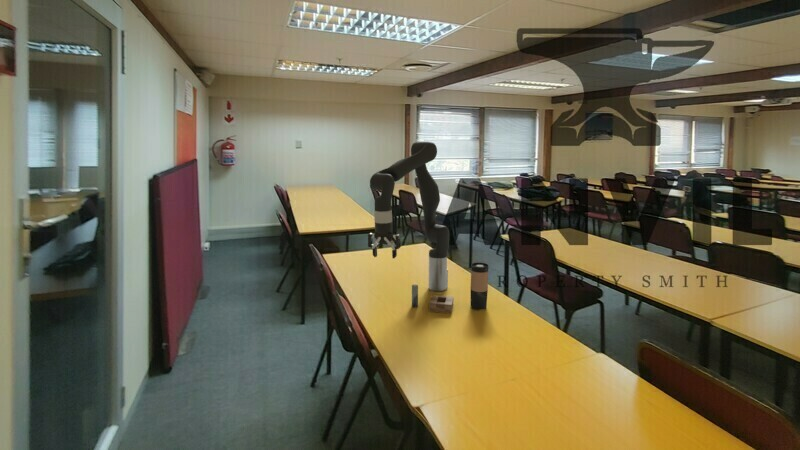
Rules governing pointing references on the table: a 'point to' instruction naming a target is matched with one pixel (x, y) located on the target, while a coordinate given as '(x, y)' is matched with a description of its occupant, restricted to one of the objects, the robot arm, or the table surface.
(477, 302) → the travel mug
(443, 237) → the robot arm
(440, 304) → the slot block
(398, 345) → the table surface
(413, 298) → the pin
